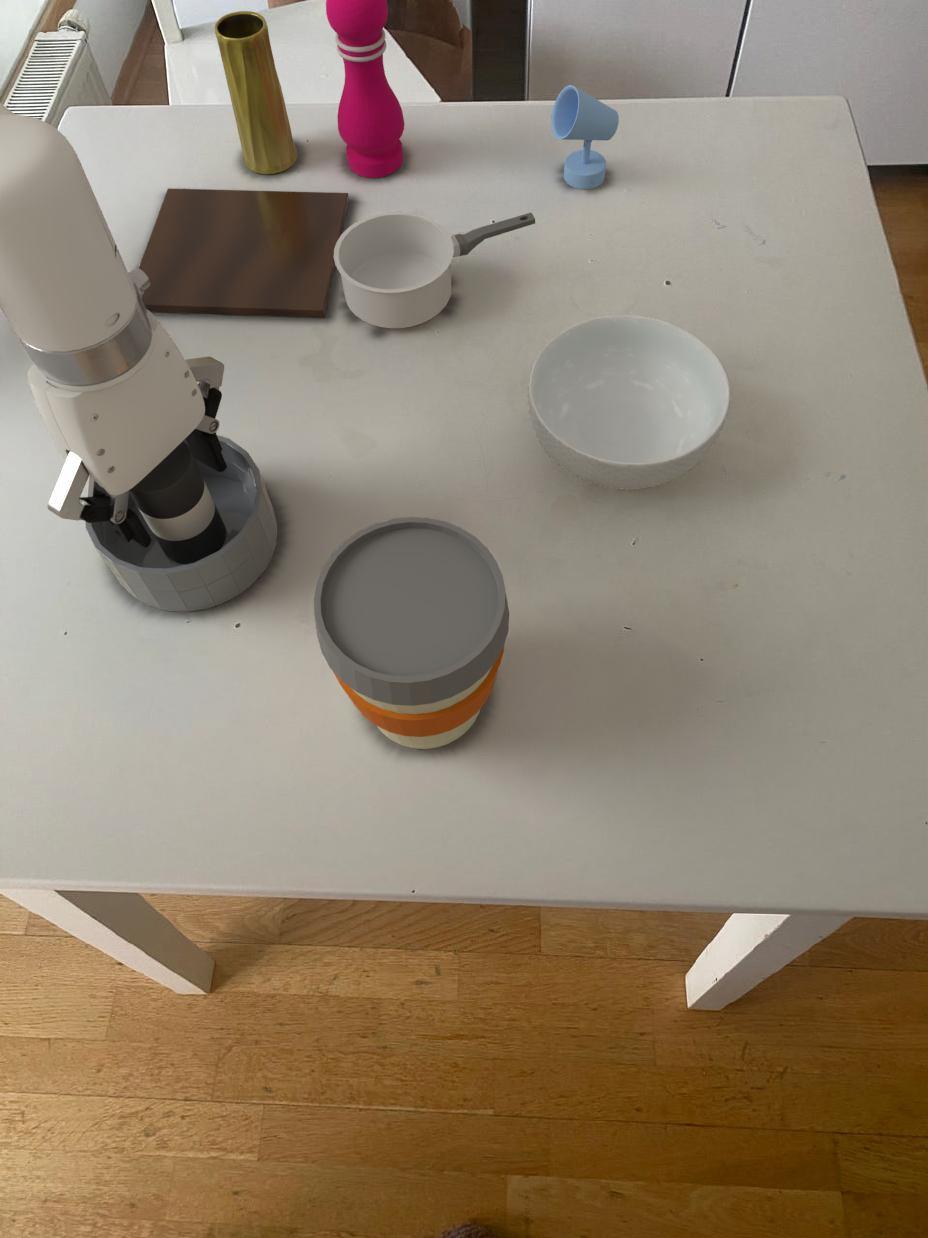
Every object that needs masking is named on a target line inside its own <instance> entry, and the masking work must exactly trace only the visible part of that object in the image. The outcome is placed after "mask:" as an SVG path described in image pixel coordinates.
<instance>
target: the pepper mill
mask: <svg viewBox="0 0 928 1238" xmlns="http://www.w3.org/2000/svg"><path fill="white" fill-rule="evenodd" d="M325 15H326V18H327V22H328V23H329V26H330V28H331V29H332V30H333V31H334V32H335V33H336V34H335V36H334V40H335V43H336V52H337V54H338V55H339V56H340V57H341V58H342V61H343V64H344V65H343V67H344V83H343V89H342V92H341V96H340V99H339V104H338V108H337V116H336V117H337V130H338V133H339V136H340V138H341V139H342V141H343V142H344V143H345V144H346V145H345V152H346V159H347V165H348V167H349V169H350V170H351V171H352V172H353V173H354V174H356V175H358V176H360V177H363V178H370V179H371V178H372V179H376V178H383V177H387V176H389V175H391V174H394V173H395V172H396V171H398V169H400V168H401V166H402V164H403V162H404V152H403V143H402V141H401V137H402V136H403V133H404V130H405V118H404V113H403V108H402V105H401V104H400V101H399V99H398V97H397V96H396V94H395V92H394V90H393V89H392V87H391V86H390V84H389V81H388V79H387V75H386V73H385V67H384V53H385V52H386V50H387V42H386V31H385V30H384V27H385V26H386V23H387V21H388V16H389V6H388V1H387V0H325Z"/></svg>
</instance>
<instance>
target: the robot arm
mask: <svg viewBox="0 0 928 1238" xmlns="http://www.w3.org/2000/svg"><path fill="white" fill-rule="evenodd" d="M150 285H151V283H150V280H149V278H148V276H147V275H146V274H145V273H144V272H143V271H142V270H141V269H139V267H135V268H133V269H132V270H131V271H128V269H127V267H126V264H125V261H124V259H123V257H122V255H121V253H120V250H119V248H118V246H117V243H116V241H115V239H114V236H113V234H112V232H111V230H110V227H109V225H108V223H107V220H106V219H105V216H104V214H103V211H102V209H101V206H100V204H99V202H98V200H97V197H96V195H95V192H94V191H93V188H92V185H91V184H90V182H89V179H88V176H87V174H86V171H85V169H84V167H83V165H82V163H81V160H80V159H79V156H78V154H77V152H76V150H75V148H74V146H72V144H71V143H70V141H69V140H68V139H67V138H66V136H65V135H64V134H63V133H62V132H61V131H60V130H58V129H57V128H56V127H54V126H53V125H51V124H49V123H48V122H46V121H44V120H42V119H39V118H36V117H33V116H30V115H29V116H28V115H22V114H16V113H14V112H13V111H12V110H10V109H9V108H7V107H6V106H5V105H4V104H2V103H1V102H0V310H1V311H2V313H3V315H4V316H5V318H6V319H7V321H8V323H9V324H10V326H11V327H12V329H13V331H14V333H15V334H16V336H17V337H18V339H19V341H20V342H21V344H22V346H23V347H24V349H25V350H26V351H25V352H27V354H28V356H29V357H30V359H31V360H32V362H33V363H32V365H31V366H30V367H29V368H28V369H27V374H26V375H27V379H28V384H29V387H30V390H31V391H30V392H31V394H32V397H33V400H34V402H35V405H36V408H37V411H38V413H39V416H40V418H41V420H42V422H43V424H44V426H45V428H46V431H47V432H48V435H49V436H50V439H51V441H52V443H53V445H54V446H55V448H56V450H57V452H58V453H59V455H60V458H62V460H63V462H64V464H63V466H62V469H61V470H60V471H61V472H60V473H59V476H58V478H57V481H56V483H55V486H54V488H53V491H52V493H51V495H50V497H49V500H48V503H47V509H48V511H49V512H52V513H53V514H55V515H56V516H58V517H59V518H61V519H64V520H71V521H77V522H78V521H84V522H85V521H86V522H87V523H94V522H104V521H106V522H107V523H108V525H109V526H110V528H111V529H112V531H113V532H114V533H115V534H116V535H117V536H118V537H119V538H120V539H122V540H123V541H125V542H127V543H129V542H130V541H131V540H132V539H133V540H134V541H136V542H137V543H139V544H140V545H142V546H144V547H145V548H147V547H148V546H149V545H150V544H151V540H152V539H151V538H150V536H149V534H148V533H147V531H146V529H145V528H144V526H143V524H142V523H141V521H140V519H139V518H138V516H137V514H136V513H135V512H133V511H132V510H130V509H129V508H128V499H129V490H130V489H131V488H133V487H134V486H135V485H136V484H138V483H139V482H140V481H141V480H142V479H143V478H144V477H145V476H146V475H147V474H149V473H150V472H151V471H152V470H153V469H154V468H155V467H156V466H157V465H158V464H159V463H160V462H161V461H162V460H163V459H165V458H166V457H167V456H168V455H169V454H170V453H171V452H172V451H173V450H174V449H175V448H176V447H177V446H178V445H179V444H180V443H181V442H182V441H183V440H184V439H186V441H187V444H188V446H189V448H190V450H191V452H192V454H193V456H194V458H195V459H197V460H199V461H200V462H202V463H204V464H205V465H207V466H209V467H211V468H212V469H214V470H216V471H217V472H223V471H224V470H225V469H226V468H227V465H226V463H225V460H224V458H223V455H222V453H221V451H222V447H221V444H220V442H219V440H218V437H217V435H218V434H217V433H216V432H218V430H219V428H220V420H218V419H217V414H218V411H219V407H220V404H221V401H222V397H223V393H222V391H220V388H221V387H222V384H223V379H224V372H225V364H224V363H223V362H221V361H220V360H218V359H216V358H214V357H212V356H202V357H195V358H187V359H186V358H185V357H184V355H183V353H182V352H181V350H180V349H179V347H178V345H177V344H176V343H175V341H174V340H173V338H172V337H171V335H170V334H169V332H168V331H167V330H166V329H165V327H164V326H163V324H162V323H161V322H160V321H159V319H158V318H157V317H156V316H155V315H154V314H153V312H150V311H149V310H147V309H146V307H145V305H144V303H143V300H142V295H143V294H144V290H145V289H146V288H148V287H149V286H150ZM87 481H88V491H87V496H82V494H83V491H84V489H85V487H86V485H87ZM106 492H107V493H108V494H110V495H111V497H110V496H106ZM81 496H82V497H81Z"/></svg>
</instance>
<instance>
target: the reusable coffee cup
mask: <svg viewBox="0 0 928 1238" xmlns="http://www.w3.org/2000/svg"><path fill="white" fill-rule="evenodd" d="M315 583H316V584H315V588H314V595H313V609H314V610H313V613H314V614H313V615H314V621H315V629H316V637H317V640H318V644H319V649H320V651H321V654H322V656H323V658H324V660H325V661H326V663H327V665H328V667H329V669H331V671H332V672H333V674H334V676H335V678H336V680H337V682H338V684H339V685H340V687H341V688H342V690H343V691H344V692H345V694H346V695H347V696H348V698H349V699H350V701H351V702H352V704H353V705H354V706H355V708H356V709H357V710H358V711H359V712H360V714H361V715H363V717H364V718H365V719H366V720H368V721H369V722H371V723H372V724H373V725H375V726H376V727H377V729H378V730H379V731H380V732H381V733H382V735H384V736H385V737H387V738H388V739H389V740H391V741H392V742H393V743H396V744H398V745H400V746H404V747H407V748H411V749H416V750H428V749H436V748H440V747H443V746H447V745H449V744H451V743H453V742H454V741H456V740H459V739H460V738H461V737H462V736H463V735H465V734H466V733H467V732H468V731H469V730H470V728H471V727H473V725H474V723H475V722H476V720H477V719H478V716H479V715H480V711H481V708H483V706H484V705H485V704H486V702H487V700H488V698H489V696H490V695H491V693H492V691H493V688H494V685H495V681H496V680H497V675H498V672H499V670H500V665H501V662H502V659H503V656H504V652H505V643H506V641H507V637H508V633H509V629H510V609H509V603H508V597H507V591H506V586H505V580H504V576H503V574H502V571H501V568H500V566H499V564H498V561H497V560H496V558H495V557H494V555H493V554H492V553H491V551H490V549H489V548H488V547H487V546H486V545H485V544H483V542H481V540H480V539H478V537H477V536H475V535H473V534H472V533H470V532H469V531H467V530H465V529H464V528H462V527H461V526H458V525H455V524H452V523H450V522H448V521H446V520H440V519H436V518H431V517H425V516H424V517H423V516H422V517H421V516H420V517H419V516H404V517H397V518H396V517H395V518H391V519H388V520H387V519H386V520H383V521H380V522H376V523H374V524H372V525H369V526H367V527H365V528H362V529H361V530H359V531H357V532H355V533H354V534H353V535H352V536H350V537H349V538H347V539H346V540H344V541H343V542H342V543H341V544H340V545H339V546H338V547H337V548H336V549H335V550H334V551H333V552H332V553H331V555H330V557H329V558H328V559H327V561H326V562H325V563H324V565H323V567H322V568H321V571H320V573H319V576H318V578H317V580H316V582H315Z"/></svg>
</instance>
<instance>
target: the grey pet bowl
mask: <svg viewBox="0 0 928 1238" xmlns="http://www.w3.org/2000/svg"><path fill="white" fill-rule="evenodd" d="M216 435H217V437H218V440H219V442H220V444H221V447H222V451H221V453H222V455H223V458H224V460H225V463H226V465H227V468H226V469H225V470H224V471H223V472H217V471H216V470H214V469H212V468H211V467H209V466H207V465H205V464H204V463H202V462H200V461H199V460H197V459H195V458H194V459H195V461H196V463H197V465H198V468H199V470H200V472H201V474H202V477H203V479H204V481H205V483H206V485H207V488H208V490H209V492H210V494H211V496H212V499H213V501H214V503H215V505H216V507H217V510H218V512H219V514H220V516H221V518H222V521H223V523H224V525H225V528H226V539H225V542H224V544H223V546H222V547H221V549H220V550H219V551H217V552H215V553H213V554H211V555H209V556H207V557H205V558H203V559H201V560H199V561H197V562H195V563H191V564H180V563H177V562H174V561H173V560H171V559H170V558H168V557H167V556H166V555H165V553H164V552H163V550H162V548H161V546H160V545H159V543H158V541H157V540H156V538H155V536H154V534H153V533H152V531H151V529H150V528H149V526H148V524H147V522H146V521H145V519H144V517H143V516H142V514H141V512H140V510H139V509H138V507H137V505H136V504H135V502H134V500H133V498H132V497H131V495H130V493H129V499H128V508H129V509H130V510H132V511H133V512H135V513H136V514H137V516H138V518H139V519H140V521H141V523H142V524H143V526H144V528H145V529H146V531H147V533H148V534H149V536H150V538H151V539H152V540H151V544H150V545H149V546H148V547H147V548H145V547H144V546H142V545H140V544H139V543H137V542H136V541H134V540H133V539H132V540H131V541H130V542H129V543H127V542H125V541H123V540H122V539H120V538H119V537H118V536H117V535H116V534H115V533H114V532H113V531H112V529H111V528H110V526H109V525H108V523H107V522H106V521H104V522H94V523H87V522H86V521H84V522H85V523H84V524H85V530H86V532H87V534H88V536H89V538H90V540H91V542H92V544H93V547H94V548H95V549H96V551H97V552H98V554H99V556H100V557H101V558H102V560H103V561H104V562H105V564H106V565H107V567H108V569H109V570H110V571H111V573H112V574H113V575H114V577H115V578H116V580H117V582H119V584H120V585H121V586H122V587H123V588H124V589H125V590H126V591H127V592H128V593H129V594H130V595H131V596H133V597H134V598H135V599H136V600H137V601H140V602H141V603H143V604H145V605H147V606H150V607H152V608H155V609H158V610H163V611H167V612H177V613H178V612H179V613H183V612H185V613H187V612H188V613H189V612H197V611H202V610H206V609H210V608H213V607H214V608H215V607H216V606H219V605H222V604H224V603H227V602H229V601H230V600H232V599H234V598H236V597H237V596H239V595H241V594H242V593H244V591H246V590H247V589H249V587H251V586H252V585H253V584H254V583H255V582H256V581H257V580H258V579H259V578H260V576H261V575H262V574H263V573H264V572H265V570H266V569H267V567H268V566H269V564H270V562H271V560H272V558H273V555H274V553H275V550H276V547H277V541H278V524H277V519H276V516H275V515H276V513H275V509H274V507H273V504H272V501H271V499H270V496H269V493H268V490H267V487H266V485H265V482H264V479H263V477H262V474H261V470H260V469H259V467H258V465H257V464H256V462H255V461H254V460H253V458H252V456H251V454H250V453H249V452H248V451H247V450H246V449H245V448H243V447H241V446H240V445H239V444H237V443H236V442H235V441H233V440H232V439H231V438H228V437H225V436H222V435H220V434H216ZM183 441H184V442H185V443H186V444H187V441H186V439H184V440H183ZM187 445H188V444H187ZM188 447H189V446H188ZM193 457H194V456H193ZM106 496H110V497H111V495H110V494H108V493H107V492H106Z"/></svg>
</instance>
